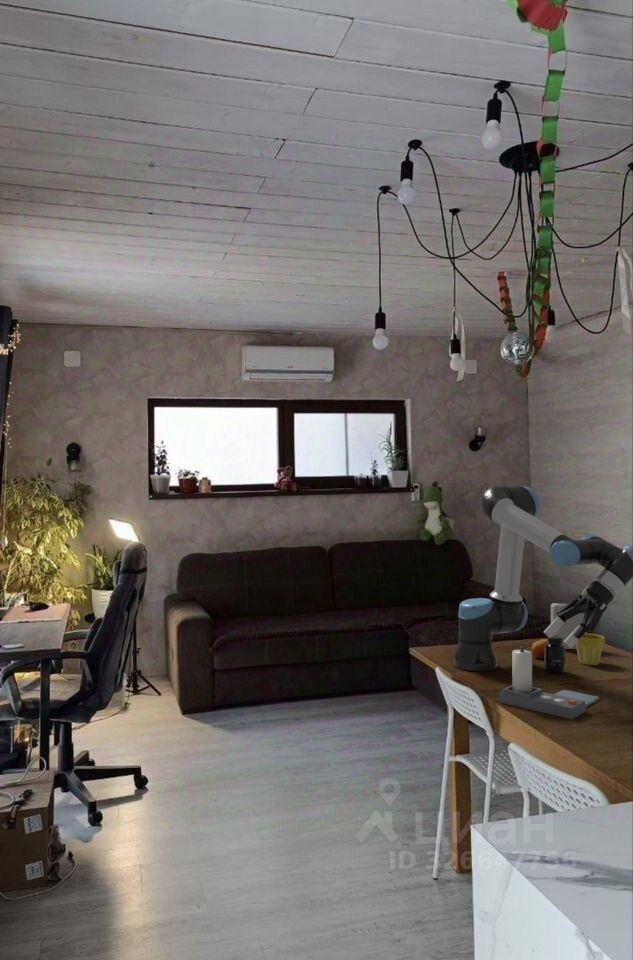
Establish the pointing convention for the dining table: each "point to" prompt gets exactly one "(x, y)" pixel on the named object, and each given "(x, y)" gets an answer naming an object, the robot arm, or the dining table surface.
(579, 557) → the robot arm
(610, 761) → the dining table surface
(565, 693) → the mat
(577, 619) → the gas can
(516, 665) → the paper towel holder
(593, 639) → the plant pot
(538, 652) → the fruit
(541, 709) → the grey control panel
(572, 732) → the dining table surface
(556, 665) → the supplement bottle
